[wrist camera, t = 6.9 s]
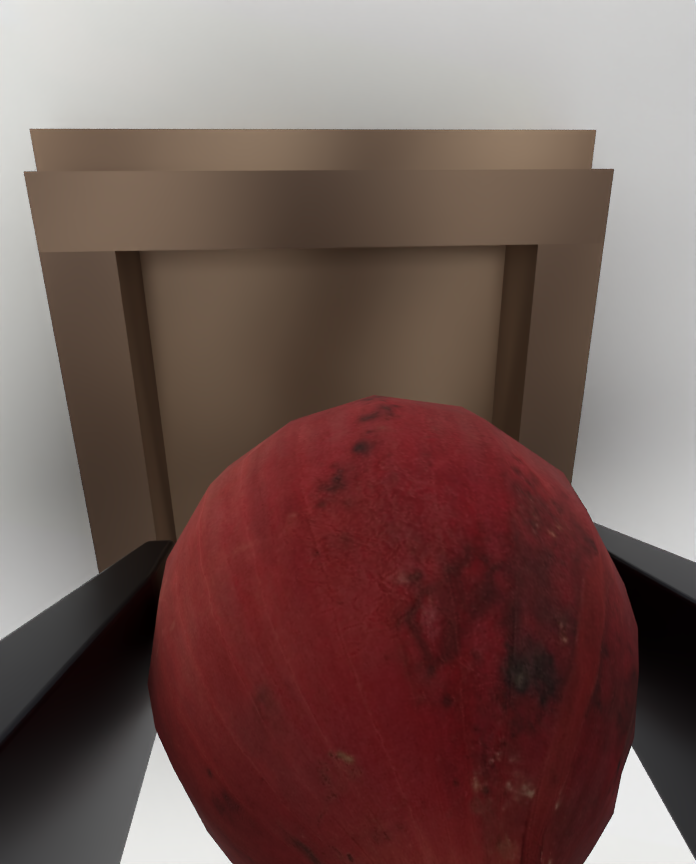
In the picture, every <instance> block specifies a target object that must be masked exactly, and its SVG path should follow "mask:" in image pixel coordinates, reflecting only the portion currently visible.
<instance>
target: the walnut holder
mask: <svg viewBox="0 0 696 864" xmlns="http://www.w3.org/2000/svg"><path fill="white" fill-rule="evenodd" d="M30 134H31V139H32V145H33V151H34V156H35V162H36V167H37V171H31V172H24V176H25V181H26V187H27V192H28V197H29V203H30V208H31V213H32V219H33V224H34V229H35V235H36V240H37V245H38V251H39V256H40V261H41V267H42V272H43V277H44V283H45V288H46V293H47V299H48V304H49V309H50V315H51V320H52V325H53V331H54V336H55V341H56V346H57V352H58V357H59V362H60V368H61V373H62V378H63V384H64V389H65V394H66V400H67V405H68V410H69V416H70V421H71V426H72V432H73V437H74V442H75V448H76V453H77V458H78V464H79V469H80V474H81V480H82V485H83V490H84V496H85V501H86V506H87V512H88V517H89V522H90V528H91V533H92V538H93V544H94V549H95V554H96V560H97V565H98V570H99V574H100V573H101V572H102V571H104V570H105V569H107V568H108V567H110V566H111V565H113V564H114V563H116V562H117V561H119V560H120V559H122V558H123V557H125V556H126V555H128V554H129V553H131V552H132V551H134V550H135V549H137V548H138V547H140V546H141V545H143V544H144V543H146V542H148V541H158V540H172V541H174V542H175V544H176V542H177V540H178V539H179V537H180V535H181V533H182V532H183V530H184V528H185V527H186V525H187V523H188V521H189V520H190V518H191V516H192V514H193V513H194V511H195V509H196V508H197V506H198V504H199V502H200V501H201V499H202V497H203V495H204V494H205V492H206V490H207V489H208V487H209V485H210V484H211V483H212V482H213V481H214V480H215V479H216V478H217V477H218V476H219V475H220V474H221V473H222V472H223V471H224V470H225V469H226V468H227V467H228V466H229V465H231V464H232V463H233V462H235V461H236V460H238V459H239V458H240V457H242V456H243V455H245V454H246V453H247V452H249V451H250V450H251V449H253V448H254V447H256V446H257V445H258V444H260V443H261V442H263V441H264V440H265V439H267V438H268V437H270V436H271V435H272V434H274V433H275V432H277V431H278V430H279V429H281V428H282V427H283V426H285V425H286V424H288V423H289V422H290V421H292V420H295V419H298V418H301V417H304V416H308V415H311V414H314V413H317V412H321V411H324V410H327V409H330V408H333V407H337V406H340V405H343V404H346V403H349V402H353V401H356V400H359V399H362V398H366V397H369V396H372V395H378V396H385V397H393V398H401V399H408V400H416V401H423V402H431V403H438V404H446V405H454V406H461V407H463V408H465V409H467V410H469V411H471V412H473V413H474V414H476V415H478V416H480V417H482V418H483V419H485V420H487V421H488V422H490V423H491V424H492V425H494V426H495V427H497V428H498V429H500V430H501V431H503V432H504V433H506V434H507V435H509V436H510V437H512V438H513V439H515V440H516V441H517V442H519V443H520V444H522V445H523V446H525V447H526V448H528V449H529V450H531V451H532V452H534V453H535V454H537V455H538V456H540V457H541V458H542V459H544V460H545V461H547V462H548V463H550V464H551V465H553V466H554V467H556V468H557V469H559V470H560V471H562V472H563V473H564V474H565V476H566V478H567V479H568V481H569V482H570V484H571V482H572V475H573V467H574V460H575V453H576V445H577V438H578V430H579V423H580V416H581V408H582V401H583V394H584V386H585V379H586V372H587V364H588V357H589V349H590V342H591V335H592V327H593V320H594V313H595V305H596V298H597V291H598V283H599V276H600V268H601V261H602V254H603V246H604V239H605V232H606V224H607V217H608V209H609V202H610V195H611V187H612V180H613V173H614V169H591V168H592V160H593V152H594V144H595V136H596V130H343V129H30Z"/></svg>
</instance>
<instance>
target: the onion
mask: <svg viewBox="0 0 696 864" xmlns="http://www.w3.org/2000/svg"><path fill="white" fill-rule="evenodd" d="M638 675H639V662H638V627H637V623H636V620H635V617H634V614H633V610H632V607H631V604H630V601H629V597H628V594H627V591H626V588H625V584H624V582H623V581H622V579H621V577H620V575H619V573H618V571H617V569H616V567H615V565H614V563H613V561H612V559H611V557H610V555H609V553H608V551H607V549H606V547H605V545H604V543H603V541H602V539H601V537H600V535H599V533H598V531H597V529H596V527H595V525H594V524H593V522H592V520H591V518H590V516H589V514H588V512H587V510H586V508H585V507H584V505H583V503H582V502H581V500H580V499H579V497H578V495H577V494H576V492H575V491H574V489H573V487H572V486H571V484H570V482H569V481H568V479H567V478H566V476H565V474H564V473H563V472H562V471H560V470H559V469H557V468H556V467H554V466H553V465H551V464H550V463H548V462H547V461H545V460H544V459H542V458H541V457H540V456H538V455H537V454H535V453H534V452H532V451H531V450H529V449H528V448H526V447H525V446H523V445H522V444H520V443H519V442H517V441H516V440H515V439H513V438H512V437H510V436H509V435H507V434H506V433H504V432H503V431H501V430H500V429H498V428H497V427H495V426H494V425H492V424H491V423H490V422H488V421H487V420H485V419H483V418H482V417H480V416H478V415H476V414H474V413H473V412H471V411H469V410H467V409H465V408H463V407H461V406H454V405H446V404H438V403H431V402H423V401H416V400H408V399H401V398H393V397H385V396H378V395H372V396H369V397H366V398H362V399H359V400H356V401H353V402H349V403H346V404H343V405H340V406H337V407H333V408H330V409H327V410H324V411H321V412H317V413H314V414H311V415H308V416H304V417H301V418H298V419H295V420H292V421H290V422H289V423H288V424H286V425H285V426H283V427H282V428H281V429H279V430H278V431H277V432H275V433H274V434H272V435H271V436H270V437H268V438H267V439H265V440H264V441H263V442H261V443H260V444H258V445H257V446H256V447H254V448H253V449H251V450H250V451H249V452H247V453H246V454H245V455H243V456H242V457H240V458H239V459H238V460H236V461H235V462H233V463H232V464H231V465H229V466H228V467H227V468H226V469H225V470H224V471H223V472H222V473H221V474H220V475H219V476H218V477H217V478H216V479H215V480H214V481H213V482H212V483H211V484H210V485H209V487H208V489H207V490H206V492H205V494H204V495H203V497H202V499H201V501H200V502H199V504H198V506H197V508H196V509H195V511H194V513H193V514H192V516H191V518H190V520H189V521H188V523H187V525H186V527H185V528H184V530H183V532H182V533H181V535H180V537H179V539H178V540H177V542H176V544H175V546H174V547H173V549H172V551H171V553H170V554H169V556H168V558H167V559H166V564H165V570H164V575H163V580H162V585H161V591H160V596H159V603H158V610H157V617H156V625H155V632H154V639H153V647H152V654H151V662H150V669H149V676H148V690H149V696H150V702H151V708H152V713H153V719H154V725H155V729H156V731H157V733H158V735H159V738H160V740H161V742H162V744H163V747H164V749H165V751H166V753H167V755H168V758H169V760H170V762H171V764H172V767H173V769H174V771H175V772H176V774H177V776H178V778H179V780H180V782H181V783H182V785H183V787H184V789H185V791H186V793H187V795H188V796H189V798H190V800H191V802H192V804H193V806H194V807H195V809H196V811H197V813H198V815H199V817H200V819H201V820H202V822H203V824H204V826H205V828H206V830H207V831H208V833H209V834H210V835H211V837H212V838H213V839H214V841H215V842H216V843H217V844H218V846H219V847H220V848H221V850H222V851H223V852H224V853H225V855H226V856H227V857H228V859H229V860H230V861H231V862H232V863H233V864H583V863H584V862H585V860H586V859H587V857H588V856H589V854H590V853H591V851H592V850H593V848H594V846H595V845H596V843H597V841H598V839H599V838H600V836H601V834H602V832H603V831H604V829H605V827H606V826H607V824H608V822H609V820H610V819H611V817H612V815H613V813H614V808H615V803H616V799H617V794H618V789H619V784H620V779H621V774H622V771H623V768H624V765H625V763H626V760H627V757H628V754H629V751H630V748H631V745H632V743H633V740H634V732H635V718H636V704H637V690H638Z"/></svg>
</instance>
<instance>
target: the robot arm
mask: <svg viewBox="0 0 696 864" xmlns="http://www.w3.org/2000/svg"><path fill="white" fill-rule="evenodd" d="M593 524H594V525H595V527H596V529H597V531H598V533H599V535H600V537H601V539H602V541H603V543H604V545H605V547H606V549H607V551H608V553H609V555H610V557H611V559H612V561H613V563H614V565H615V567H616V569H617V571H618V573H619V575H620V577H621V579H622V581H623V582H624V584H625V588H626V591H627V594H628V597H629V601H630V604H631V607H632V610H633V614H634V617H635V620H636V623H637V627H638V662H639V675H638V690H637V704H636V718H635V732H634V740H633V743H632V747H633V749H634V751H635V753H636V754H637V756H638V758H639V760H640V761H641V763H642V765H643V767H644V769H645V770H646V772H647V774H648V776H649V778H650V779H651V781H652V783H653V785H654V787H655V788H656V790H657V792H658V794H659V796H660V797H661V799H662V801H663V803H664V804H665V806H666V808H667V810H668V812H669V813H670V815H671V817H672V819H673V821H674V822H675V824H676V826H677V828H678V830H679V831H680V833H681V835H682V837H683V839H684V840H685V842H686V844H687V846H688V847H689V849H690V851H691V853H692V855H693V856H694V858H695V860H696V562H693V561H691V560H688V559H685V558H683V557H680V556H678V555H675V554H673V553H670V552H668V551H665V550H663V549H660V548H657V547H655V546H652V545H650V544H647V543H645V542H642V541H640V540H637V539H635V538H632V537H629V536H627V535H624V534H622V533H619V532H617V531H614V530H612V529H609V528H607V527H604V526H601V525H599V524H596V523H594V522H593ZM174 546H175V542H174V541H172V540H158V541H148V542H146V543H144V544H143V545H141V546H140V547H138V548H137V549H135V550H134V551H132V552H131V553H129V554H128V555H126V556H125V557H123V558H122V559H120V560H119V561H117V562H116V563H114V564H113V565H111V566H110V567H108V568H107V569H105V570H104V571H102V572H101V573H100V574H98V575H97V576H95V577H94V578H92V579H91V580H89V581H88V582H86V583H85V584H83V585H82V586H80V587H79V588H77V589H76V590H74V591H73V592H71V593H70V594H68V595H67V596H65V597H64V598H62V599H61V600H59V601H58V602H56V603H55V604H53V605H52V606H51V607H49V608H48V609H46V610H45V611H43V612H42V613H40V614H39V615H37V616H36V617H34V618H33V619H31V620H30V621H28V622H27V623H25V624H24V625H22V626H21V627H19V628H18V629H16V630H15V631H13V632H12V633H10V634H9V635H7V636H6V637H4V638H3V639H1V640H0V864H120V861H121V858H122V854H123V851H124V847H125V844H126V840H127V836H128V833H129V829H130V826H131V822H132V819H133V815H134V811H135V808H136V804H137V801H138V797H139V794H140V790H141V786H142V783H143V779H144V776H145V772H146V769H147V765H148V761H149V758H150V754H151V751H152V747H153V744H154V740H155V737H156V733H157V731H156V729H155V725H154V719H153V713H152V708H151V702H150V696H149V690H148V676H149V669H150V662H151V654H152V647H153V639H154V632H155V625H156V617H157V610H158V603H159V596H160V591H161V585H162V580H163V575H164V570H165V564H166V559H167V558H168V556H169V554H170V553H171V551H172V549H173V547H174Z"/></svg>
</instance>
